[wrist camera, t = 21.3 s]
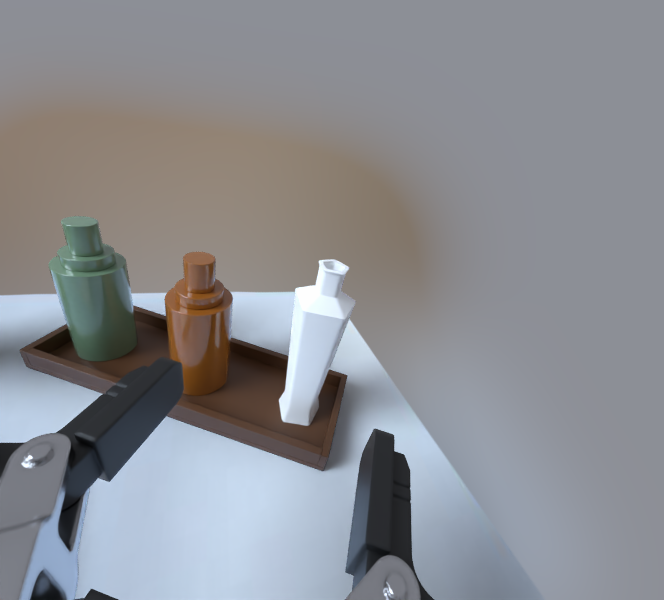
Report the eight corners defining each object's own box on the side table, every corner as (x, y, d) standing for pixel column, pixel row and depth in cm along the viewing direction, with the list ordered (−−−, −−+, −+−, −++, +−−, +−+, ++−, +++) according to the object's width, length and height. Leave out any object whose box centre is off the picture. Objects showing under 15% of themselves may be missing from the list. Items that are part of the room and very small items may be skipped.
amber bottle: (212, 350, 31) (213, 241, 25) (238, 379, 29) (247, 266, 22) (162, 370, 28) (148, 249, 21) (187, 405, 25) (180, 280, 19)
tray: (343, 388, 31) (347, 375, 30) (323, 471, 23) (328, 457, 22) (115, 313, 33) (112, 298, 32) (26, 367, 25) (18, 349, 24)
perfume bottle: (287, 439, 24) (325, 287, 17) (267, 400, 27) (290, 254, 20) (332, 419, 27) (381, 280, 19) (308, 385, 30) (343, 251, 22)
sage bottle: (127, 322, 32) (107, 208, 25) (146, 348, 29) (129, 230, 23) (68, 338, 28) (28, 211, 22) (84, 369, 26) (43, 237, 19)
